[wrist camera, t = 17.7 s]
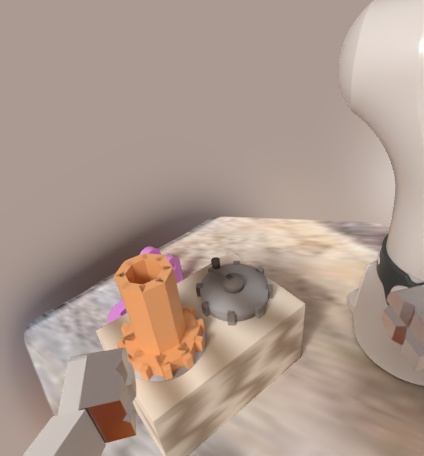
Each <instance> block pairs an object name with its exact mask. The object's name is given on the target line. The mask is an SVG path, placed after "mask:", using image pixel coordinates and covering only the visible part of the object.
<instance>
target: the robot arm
mask: <svg viewBox="0 0 424 456" xmlns="http://www.w3.org/2000/svg"><path fill="white" fill-rule="evenodd" d="M338 78H339V85H340V89H341V92H342V95H343V97H344V99H345V101H346V103H347V105H348V106H349V108H350V109H351V110H352V112H353V113H355V114H356V115H357V116H358V117H359V118H361V119H362V120H363V121H364V122H365V123H366V124H367V125H368V126H369V127H370V128H371V129H372V130H373V131H374V133H375V134H376V135H377V137H378V138H379V139H380V141H381V143H382V144H383V146H384V148H385V149H386V152H387V153H388V156H389V158H390V161H391V164H392V167H393V170H394V175H395V184H396V190H395V201H394V208H393V215H392V220H391V225H390V230H389V234H388V235H387V236H386V237H385V238H384V240H383V243H382V245H381V247H380V249H379V253H378V260H377V261H375V262H373V263H372V264H368V265H367V267H366V269H365V272H364V275H363V278H362V281H361V284H360V287H359V289H357V290H355V291H353V292H351V293H350V294H349V295H348V298H347V303H348V306H349V308H350V309H351V311H352V313H353V328H354V333H355V336H356V339H357V341H358V343H359V345H360V346H361V348H362V349H363V351H364V352H365V353H366V354H367V356H368V357H369V358H370V359H371V360H372V361H373V362H375V363H376V364H377V365H378V366H379V367H381V368H382V369H384V370H385V371H387V372H388V373H390V374H392V375H394V376H396V377H398V378H400V379H402V380H405V381H407V382H410V383H413V384H417V385H422V386H424V0H374V1H372V2H371V3H370V4H369V5H368V6H367V7H366V8H365V9H364V10H363V11H362V13H361V14H360V15H359V16H358V18H357V19H356V20H355V22H354V23H353V25H352V26H351V28H350V30H349V32H348V33H347V36H346V38H345V40H344V43H343V45H342V49H341V53H340V57H339V64H338ZM135 397H136V379H135V373H134V368H133V366H132V363H130V362H128V352H127V350H126V348H125V347H124V348H118V349H112V350H107V351H101V352H96V353H90V354H85V355H80V356H75V357H71V358H70V360H69V362H68V365H67V370H66V375H65V381H64V386H63V391H62V396H61V402H60V407H59V412H58V415H56V416H53V417H52V418H51V419H50V420H49V421H48V423H47V424H46V425H45V427H44V428H43V429H42V431H41V432H40V434H39V435H38V436H37V437H36V439H35V440H34V441H33V443H32V444H31V445H30V447H29V448H28V449H27V450H26V452H25V453H24V454H23V456H101V454H102V452H103V450H104V448H105V446H106V444H105V443H108V442H112V441H116V440H119V439H123V438H127V437H131V436H135V435H136V409H135V407H134V404H133V400H134V399H135Z"/></svg>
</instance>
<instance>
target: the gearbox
mask: <svg viewBox="0 0 424 456" xmlns="http://www.w3.org/2000/svg"><path fill="white" fill-rule="evenodd" d="M211 262H212V263H211V264H209V265H208V266H206V267H204V268H203V269H201V270H199V271H197V272H196V273H194V274H192V275H191V276H189V277H187V278H186V279H184V280H182V281H180V282H179V283H177V288H178V292H179V297H180V302H181V306H185V307H187V308H188V307H189V306H192V307H194V308H195V311H196V316H197V318H196V320H198V319H202V320H203V323H204V329H205V333H202V337H203V339H204V344H205V347H204V350H203V352H202V351H197V350H196V353H195V355H194V358H193V362H194V365H193V366H192V367H191V368H190V369H188V368H187V367H185V366H182V367H180V368H179V369H177V370H175V371H173V372H172V374H173V378H172V379H168V380H166V378H165V376H164V377H162V376H158V375H153V374H152V375H151V378H150V380H149V381H147V380H143V379H142V377H141V374H140V372H139V371H134V373H135V379H136V397H135V399H134V400H133V404H134V407H135V409H136V411H137V413H138V414H139V416H140V418H141V419H142V421H143V423H144V424H145V426H146V428H147V429H148V431H149V433H150V434H151V436H152V438H153V439H154V441H155V443H156V444H157V446H158V448H159V449H160V451H161V453H162V454H163V456H188V455H189V454H190V453H191V452H192V451H194V450H195V449H196V448H197V447H198V446H199V445H200V444H202V443H203V442H204V441H205V440H206V439H207V438H208V437H210V436H211V435H212V434H213V433H214V432H215V431H216V430H218V429H219V428H220V427H221V426H222V425H223V424H224V423H226V422H227V421H228V420H229V419H230V418H231V417H232V416H234V415H235V414H236V413H237V412H238V411H239V410H240V409H242V408H243V407H244V406H245V405H246V404H247V403H248V402H250V401H251V400H252V399H253V398H254V397H255V396H257V395H258V394H259V393H260V392H261V391H262V390H263V389H265V388H266V387H267V386H268V385H269V384H270V383H271V382H273V381H274V380H275V379H276V378H277V377H278V376H279V375H281V374H282V373H283V372H284V371H285V370H286V369H287V368H289V367H290V366H291V365H292V364H293V363H294V362H295V361H297V360H298V359H299V358H300V357H301V350H302V339H303V327H304V315H305V303H304V302H302V301H301V300H299V299H298V298H296V297H295V296H294V295H292V294H291V293H289V292H288V291H287V290H285V289H284V288H282V287H281V286H279V285H278V284H277V283H275V282H274V281H272V280H271V279H269V278H268V277H267V276H265V275H264V269H262V268H261V267H258V268H254V267H252V266H251V265H250V264H248V263H247V262H245V261H244V260H242V259H241V258H240V257H238V256H237V255H235V254H234V253H232V252H230V253H228V254H226V255H225V256H223V257H221V258H220V259H219V258H213V259H212V260H211ZM123 323H127V324H130V320H129V317H128V314H127V313H126V314H124V315H122V316H121V317H119V318H117V319H116V320H114V321H112V322H110V323H109V324H107V325H105V326H104V327H102V328H100V329H99V330H97V331H96V332H97V335H98V337H99V339H100V341H101V343H102V346H103V348H104V350H105V351H107V350H112V349H118V348H117V341H120V340H121V338H122V336H123V333H122V330H121V327H122V325H123Z"/></svg>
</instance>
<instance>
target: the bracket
mask: <svg viewBox="0 0 424 456" xmlns="http://www.w3.org/2000/svg"><path fill="white" fill-rule="evenodd" d="M143 253H150V254H159V255H161V253H160V251H159V250H158V249H155V248H153V247H150V246H149V247H146V248H144V249H143V250H142V252H141V253H140V255H141V254H143ZM165 257H166V258H167V259H168V261H169V262H170V263H171V265H172V266H173V269H174V274H175V278H176V283H179V282H180V281H182V280H183V275H182V270H181V265H180V260H179V259H178V258H177V257H175V256H172V255H170V254H167V255H165ZM126 313H127V311H126V309H125V306H124V303H123V300H121V301H120V302H119V303H117V304H116V305H115V306H114V307H113V308H112V309H111V311H110V312H109V315H108V321H109V323H110V322H112V321H114V320H116V319H117V318H119V317H121V316H122V315H124V314H126Z"/></svg>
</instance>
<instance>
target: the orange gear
mask: <svg viewBox="0 0 424 456" xmlns="http://www.w3.org/2000/svg"><path fill="white" fill-rule="evenodd" d="M114 277H115V280H116V283H117V286H118V289H119V292H120V294H121V297H122V300H123V303H124V306H125V309H126V311H127V314H128V317H129V320H130V324H127V323H123V325H122V327H121V330H122V333H123V336H122V338H121V340H120V341H117V348H124V347H125V348H126V350H127V352H128V362H130V363H132V366H133V368H134V371H139V372H140V374H141V377H142V379H143V380H147V381H149V380H150V378H151V375H152V374H153V375H158V376H162V377H164V376H165V378H166V380H168V379H172V378H173V374H172V372H173V371H175V370H177V369H179V368H180V367H182V366H185V367H187V368H188V369H190V368H191V367H192V366H193V365H194V362H193V358H194V355H195V353H196V350H197V351H202V352H203V350H204V347H205V344H204V339H203V337H202V333H205V329H204V323H203V320H202V319H198V320H196V318H197V316H196V311H195V308H194V307H192V306H189V307H188V308H187V307H185V306H181V302H180V297H179V292H178V288H177V283H176V278H175V274H174V269H173V266H172V265H171V263H170V262H169V261H168V259H167V258H166V257H165V255H159V254H150V253H143V254H141V255H139V256H136V257H134V258H131V259H129V260H126V261H125V262H124V263H123V264H122V265H121V267H120V268H119V270H118V271H117V272H116V274H115V275H114Z"/></svg>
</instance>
